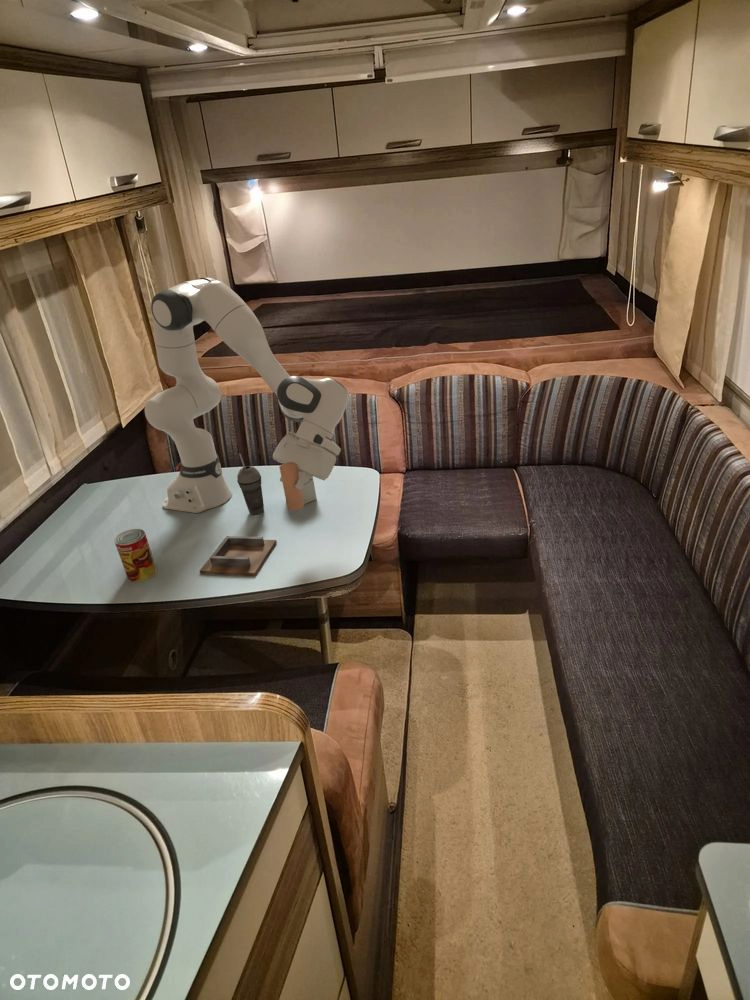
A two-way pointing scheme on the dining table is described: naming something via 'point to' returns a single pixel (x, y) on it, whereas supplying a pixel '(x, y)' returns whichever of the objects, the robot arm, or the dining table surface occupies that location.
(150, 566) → the canned food
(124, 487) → the dining table surface
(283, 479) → the terracotta post
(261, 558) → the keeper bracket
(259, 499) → the beverage cup
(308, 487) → the supplement box
